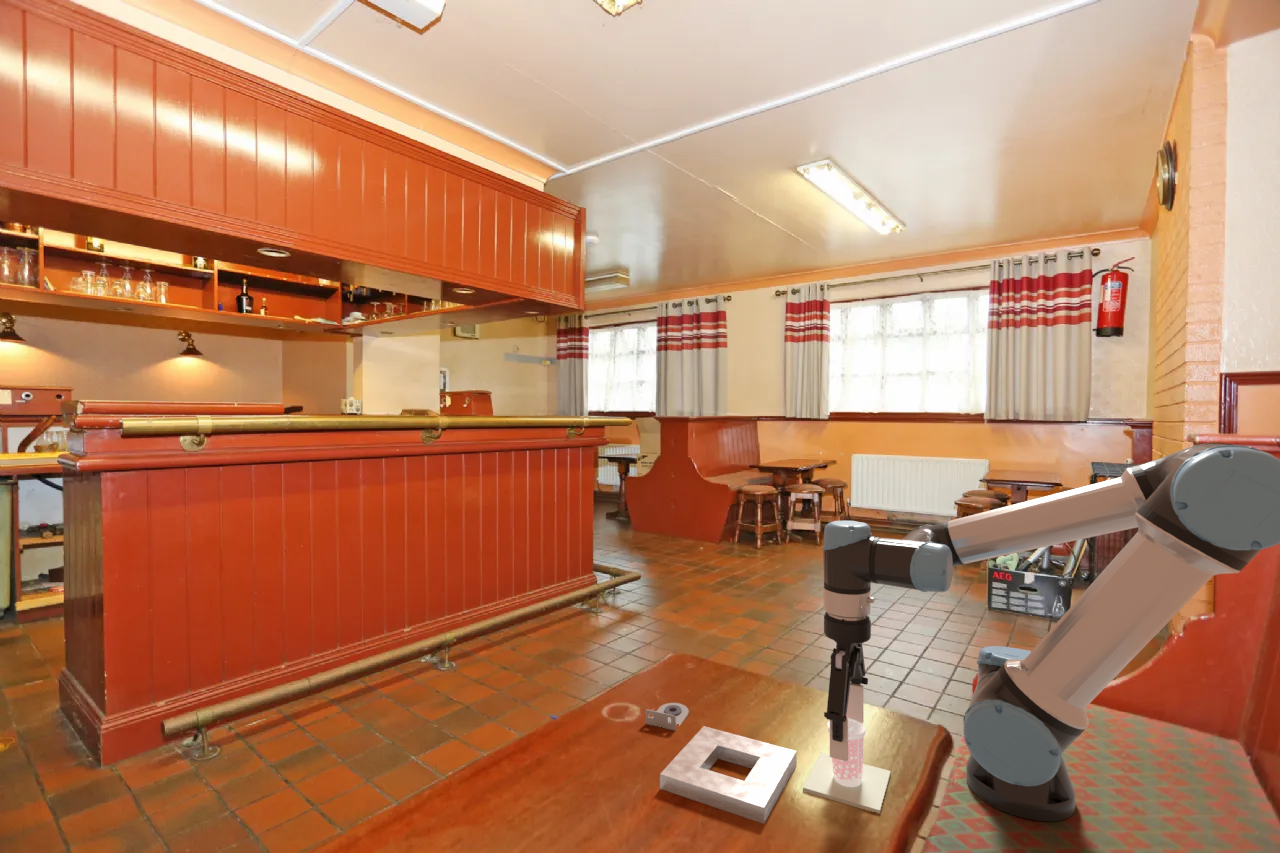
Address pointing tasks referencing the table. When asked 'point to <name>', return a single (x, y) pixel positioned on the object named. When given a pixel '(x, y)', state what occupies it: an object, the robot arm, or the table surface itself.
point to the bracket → (667, 716)
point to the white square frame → (726, 792)
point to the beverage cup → (851, 756)
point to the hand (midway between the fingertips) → (847, 738)
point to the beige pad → (860, 796)
